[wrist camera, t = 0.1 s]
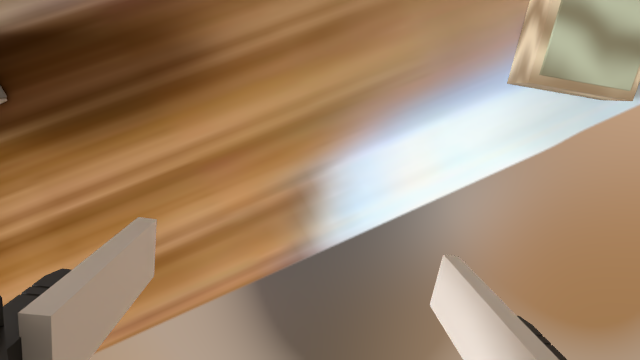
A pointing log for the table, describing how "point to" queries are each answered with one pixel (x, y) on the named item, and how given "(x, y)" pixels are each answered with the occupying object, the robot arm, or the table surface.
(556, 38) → the birch riser
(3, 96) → the hard drive box
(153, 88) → the table surface
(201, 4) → the table surface
